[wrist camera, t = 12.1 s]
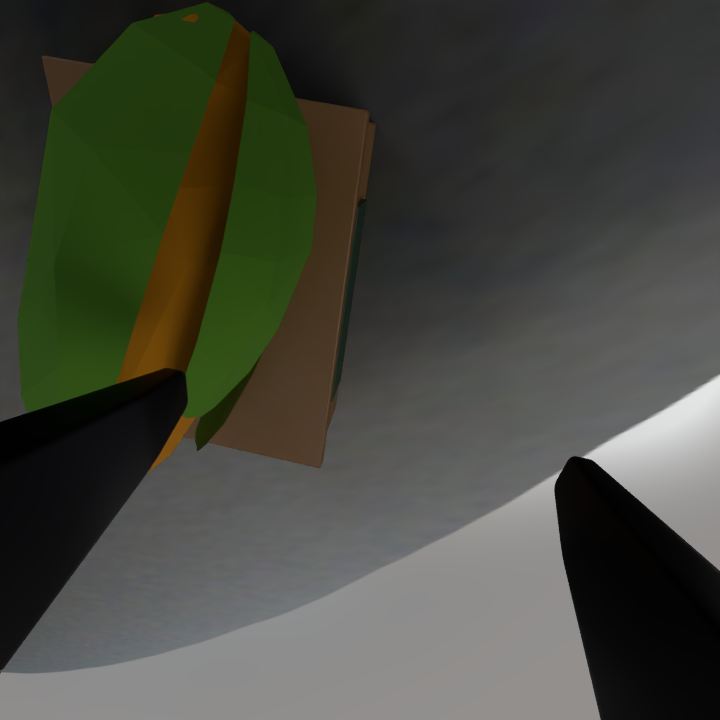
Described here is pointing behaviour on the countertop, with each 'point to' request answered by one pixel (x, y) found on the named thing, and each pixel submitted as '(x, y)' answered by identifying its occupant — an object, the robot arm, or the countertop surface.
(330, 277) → the takeaway box
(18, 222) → the countertop surface
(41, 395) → the corn
